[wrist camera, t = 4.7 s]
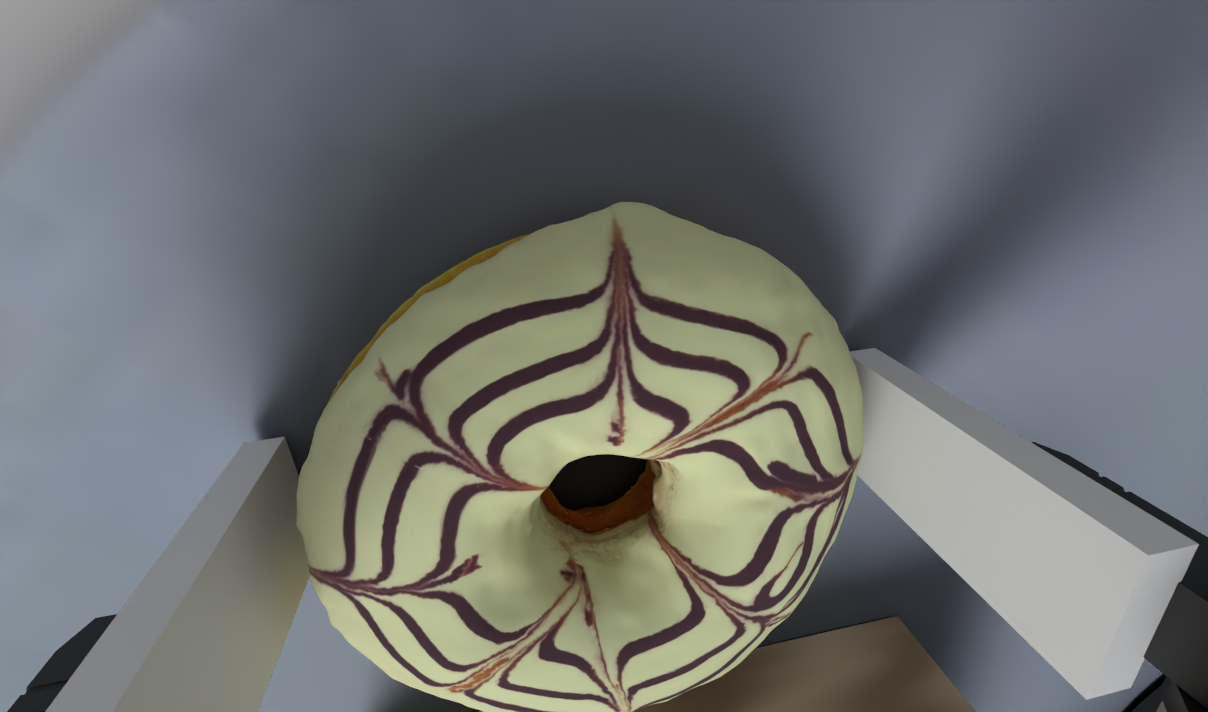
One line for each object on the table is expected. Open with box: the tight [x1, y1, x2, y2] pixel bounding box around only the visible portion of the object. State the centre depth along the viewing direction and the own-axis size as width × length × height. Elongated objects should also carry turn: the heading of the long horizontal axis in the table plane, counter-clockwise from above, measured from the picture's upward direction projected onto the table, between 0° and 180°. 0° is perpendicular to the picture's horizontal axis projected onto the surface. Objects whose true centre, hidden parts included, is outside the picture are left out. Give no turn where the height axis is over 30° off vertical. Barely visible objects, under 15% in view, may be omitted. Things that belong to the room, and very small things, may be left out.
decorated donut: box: [296, 202, 864, 712], centre depth 11 cm, size 10×11×4 cm
